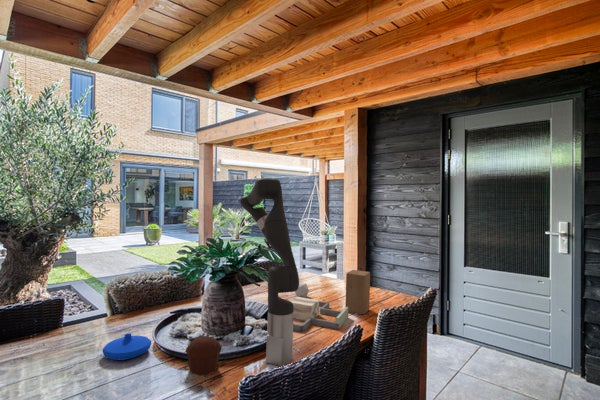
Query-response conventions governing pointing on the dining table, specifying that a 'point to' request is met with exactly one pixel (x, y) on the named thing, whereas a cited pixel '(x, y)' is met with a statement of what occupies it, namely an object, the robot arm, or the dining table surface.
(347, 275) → the wooden block
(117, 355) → the blue knobbed lid
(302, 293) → the die
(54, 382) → the dining table surface
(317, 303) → the ash block
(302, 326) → the box
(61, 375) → the dining table surface
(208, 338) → the muffin
